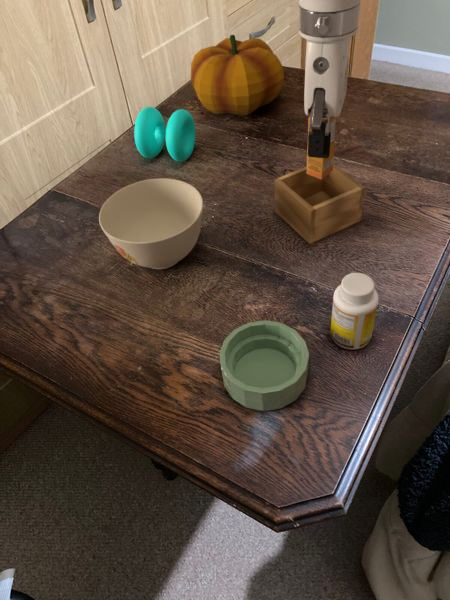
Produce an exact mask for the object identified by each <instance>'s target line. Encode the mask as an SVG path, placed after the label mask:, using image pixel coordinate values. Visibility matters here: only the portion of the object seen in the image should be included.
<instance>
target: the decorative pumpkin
mask: <svg viewBox="0 0 450 600" xmlns="http://www.w3.org/2000/svg"><path fill="white" fill-rule="evenodd" d="M284 80H285V74H284V68H283V65H282V61H280V59H279V57H278V56H277V55H276V54H275V53H274V52H273V49H272V48H271V46H269V44H267V43H266V42H265V41H264V40H262V39H261V38H259V37H258V38H250V39H246V40H243V41H241V40H238V39H236V36H235V35H234V34H230V35H229V37H225V38H224V39H223V40H220V41H219V42H218V43H217V44H216V45H211V46H207V47H205V48H200V49H199V51H198V52H196V53H195V54H194V56H193V58H192V60H191V63H190V81H191V84H192V88H193V90H194V91H195V93H196V97H197V99H198V100H199V101H200V103H201V104H202V105H203V107H204V108H205V109H206V110H207V111H209V112H211V113H212V114H234V115H237V116H248V115H250V114H251V113H254V112H255V111H256V110H258V109H259V108H261V107H263V106H266V105H268V104H270V103H271V102H272V101H274V100H275V99H276V98H277V97H278V96H279V94H281V93H280V92H281V91H282V89H283V85H284Z"/></svg>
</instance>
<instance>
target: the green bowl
mask: <svg viewBox="0 0 450 600" xmlns="http://www.w3.org/2000/svg"><path fill="white" fill-rule="evenodd" d="M308 349H309V348H308V346H307V342H306V340H305V339H304V338H303V336H301V335H300V334H299V332H298V331H297V329H294V328H292V327H291V326H288V325H287V324H285V323H283V322H280V321H273V320H267V319H264V320H257V321H249V322H247V323H245V324H243V325H240V326H239V327H237V328H234V329H233V330H232V331H231V333H230V334H228V336H227V337H225V339H223V343H222V345H221V348H220V351H219V353H218V354H219V361H220V370H221V375H222V381H223V386H224V388H225V389H226V391H227V392H228V394H229V396H230V397H231V398H232V399H233V400H234V401H235V402H237V403H238V404H240V405H241V406H243V407H245V408H247V409H251V410H256V411H261V412H266V411H273V410H280V409H283V408H284V407H286V406H288V405H290V404H291V403H294V402H295V401H297V400H298V398H299V397H300V395H301V394H302V393H303V392H304V390H305V389H306V387H307V381H308V377H309V363H310V353H309V350H308Z"/></svg>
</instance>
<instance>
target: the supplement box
mask: <svg viewBox="0 0 450 600" xmlns="http://www.w3.org/2000/svg"><path fill="white" fill-rule="evenodd" d="M323 111H326V110H323ZM307 118H308V119H307V120H308V121H307V134H308V133H309V128H310V115H309V116H307ZM337 118H338V117H334V116H331V118H330V128H329V132H331V141H330V155H329V157H328V158H316V157H309V156H308V145H307V148H306V149H307V151H306V166H307V174H308V175H311V176H314V177H316V178H319V179H321V180H322V179H323V178H325V177H326V176H327V175H328V174H329V173H331V172H332V171H333V164H334V161H335V160H334V156H335V143H336V130H337ZM322 122H325V123H326V118H322Z"/></svg>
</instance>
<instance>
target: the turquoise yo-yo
mask: <svg viewBox="0 0 450 600" xmlns="http://www.w3.org/2000/svg"><path fill="white" fill-rule="evenodd" d="M133 130H134V132H133V137H134V143H135V147H136V149H137V151H138V153H139V154H140V155H141V156H142V157H144V158H146V159H153V158H156V157H157V156H159V154H160V153H161V152H162V150H163V148H164V145H165V146H166V149H167V152H168V154H169V156H170V157H171V158H172V159H173V160H174V161H176V162H181V163H182V162H185V161H187V160H188V159H189V158H190V157H191V155H192V153H193V151H194V147H195V144H196V143H195V142H196V124H195V120H194V117H193V116H192V114H191V113H190V112H189V110H186V109H184V108H183V109H177V110H175V111H174V112H172V114H171V115H170V117H169V118H168V121H167V123H165V119H164V117H163V115H162V113H161V112H160V111H159V110H158V109H157V108H156V107H153V106H147V107H144V108H143V109H141V110H140V112H139V113H138V114H137V116H136V119H135V123H134V129H133Z"/></svg>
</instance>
